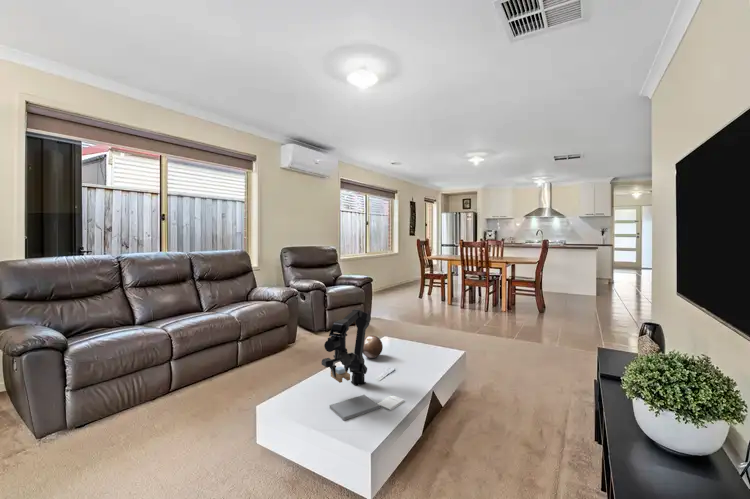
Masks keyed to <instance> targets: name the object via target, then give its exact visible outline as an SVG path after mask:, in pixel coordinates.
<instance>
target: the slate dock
mask: <svg viewBox="0 0 750 499" xmlns="http://www.w3.org/2000/svg"><path fill="white" fill-rule="evenodd" d="M377 403H378V402H376V401H374V400H373V399H371V398H370V397H369V396H367V395H366V394H362V395H361V394H360V395H358V396H355V397H351V398H349V399H348V398H347V399H346V400H342V401H339V402H335V403H332V404H329V409H330V410H331V411H332V412H334V413H335V414H336V415H337V416H338V417H339V418H340V419H341V420H342V421H347V420H349V419H352V418H355V417H358V416H362V415H364V414H367V413H370V412H373V411H377V410H379V409H380V408H381V407H380V405H379V404H377Z"/></svg>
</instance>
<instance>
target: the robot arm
mask: <svg viewBox="0 0 750 499" xmlns="http://www.w3.org/2000/svg"><path fill="white" fill-rule="evenodd" d="M371 320H372V319H371V316H370V314H368V313H366V312H364V311H362V310H361V309H358V308H357V309H352V310H351V312H350V313H348V314H347V315H346V316H345V317H343V318H342V319H339V320H335V321H334V322H333V324H332V325H331V328H330V332H329V335H328V337H327V340H325V342H324V345H323V347H324V350H326V352H328V353H331V352H334V355H333V358H332V359H331V358H330V357H326V358H322V360H321V365H322V366H324V368H329V369H330V372H331V371H332V374H333V376H334V378H336V368H337V365H336V363H339V362H340V363H341V365H343V368H345V371H346V372H347V373H352V375H351V380H350V383H351V384H353V385H354V386H356V387H358V386H362V385H365V384H367V382H366V380H365V375H366V374H367V372H368V367H367V366H366V364H365V358H364V354H363V347H364V339H365V338H366V330H367V328H369V326H370V322H371ZM354 323H355V324H354ZM353 324H354V325H355V326H356V337H355V345H354V351H353V352H349V353H348V349H347V348H346V347H347V346H346V345H347V343H346V341H347V340H346V339H347V338H346V337H347V336H348V333H347V332H348V331H350V328H349V327H350V326H351V325H353ZM348 371H349V372H348ZM334 378H333V379H334Z"/></svg>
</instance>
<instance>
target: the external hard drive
mask: <svg viewBox="0 0 750 499" xmlns="http://www.w3.org/2000/svg"><path fill="white" fill-rule="evenodd" d="M402 402H403V403H405V399H404V398H401V397H398V396H395V395H393V394H392V395H390V396H387V397H386V398H384V399H383V400H381V401H380V402H376V403H377V404H379V405H380V408H381V409H383V408H384V410H387V411H390V412H391V411H392V410H394V409H395V408H397V407H398V406H399V405H401V404H403V403H402ZM396 406H397V407H396Z"/></svg>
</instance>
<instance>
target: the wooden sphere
mask: <svg viewBox="0 0 750 499" xmlns="http://www.w3.org/2000/svg"><path fill="white" fill-rule="evenodd" d="M382 352H383V342H382V340H381V339H380V338H379V337H378V336H377V335H376V336H375V335H367V336H365V339H364V347H363V356H364V357H367V358H369V359H375V358H377V357H379V356H380V355H381V354H382Z"/></svg>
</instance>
